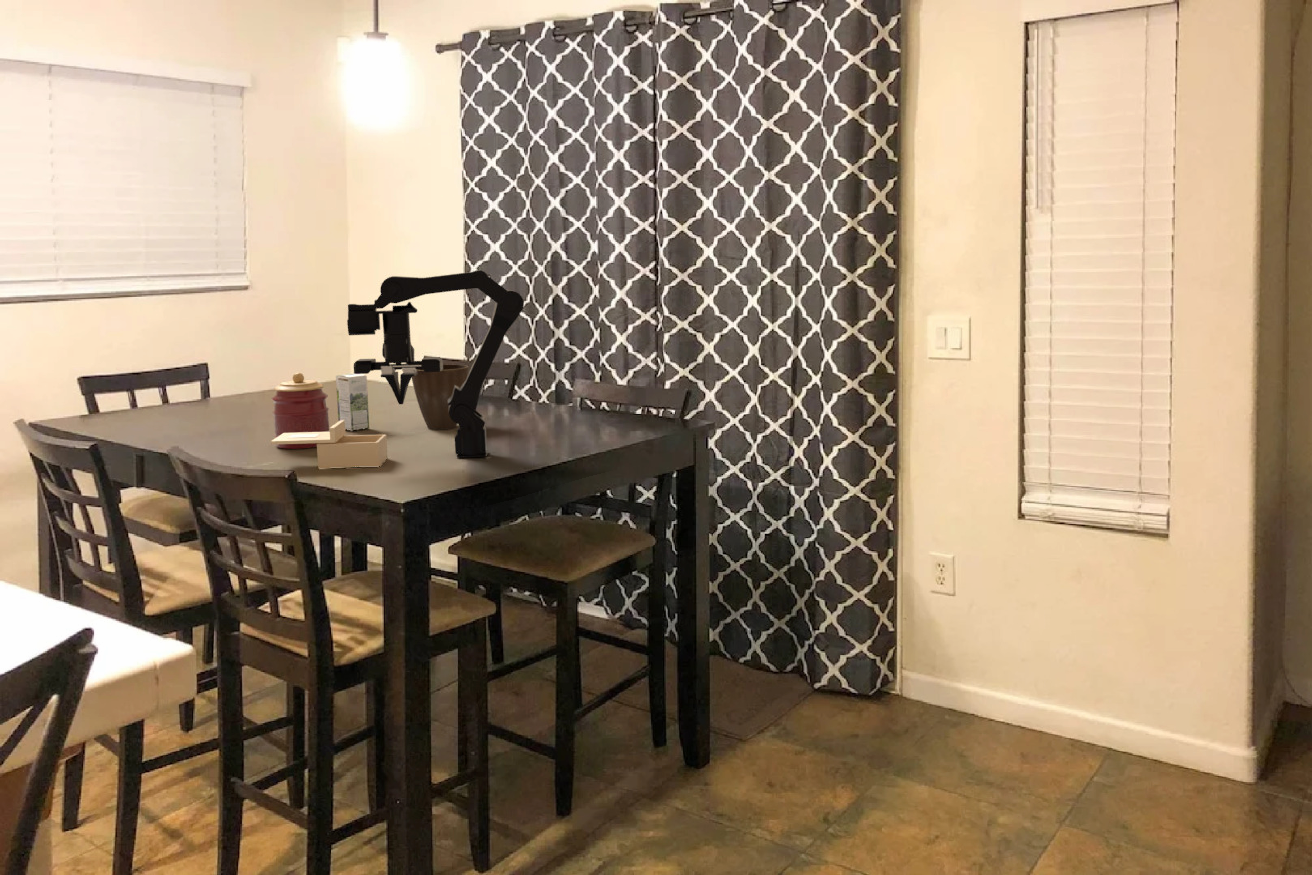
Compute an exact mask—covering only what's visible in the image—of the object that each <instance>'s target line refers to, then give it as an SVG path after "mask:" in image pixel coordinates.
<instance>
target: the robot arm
mask: <svg viewBox="0 0 1312 875" xmlns="http://www.w3.org/2000/svg"><path fill="white" fill-rule="evenodd" d="M379 289H380V290H379V292H380V295H379V296H378V297H377V299H375V300H374V303H372V304H370V303H369V304H366V303H365V304H357V303H349V304H347V321H346V322H347V324H346V325H347V333H348V336H367V335H369V336H370V335H373V336H375V335H376V331H380V330H381V317H380V315H382V327H383V330H382V331H383V343H382V347H381V348H382V355H381V356H382V357H383V358H384V361H376V358H360V359H357V360H355V361H354V362H353V374H364V375H367V374H369V373H370V372H371V371H372V372H373V371H380V372H381V374H380V377H381V378H385V380H386V381H387V383H388V384H389V386H390V387H391V390H392V392H393V394H394V397H395V398H396V401H397V403H398V405H403V404H404V403H405V399H406V395H407V391H408V388H409V385H410V382H411V381H412V376H415V375H416V374H417V371H416V370H417V369H423V370H424V371H425V372H440V371H441V370H443V364H444V362H443V358H441V357H440V356H428V357H427V356H426V357H423V358H422V359H421V360H415V348H414V346H413V345H412V342H411V327H410V326H411V325H410V324H411V323H410V314H416V313H418V308H416V307H415V306H414V305H413V304H412V302H411V301H409V300H412V299H415V298H417V297H421V296H425V295H430V294H438V293H445V292H446V293H447V292H454V291H455V292H456V291H463V290H472V289H478V290H479V291H481V292H482V293H483V294H484V295H485V296H486V297H489V299H491V300H492V301H493V302H495V304H494V308H493V312H492V317H491V322H490V326H489V327H488V330H487V332H486V334H485V337H484V338H483V340H482V344H481V345H480V347H479V350H478V353H477V354H476V356H475V358H474V360H473V361H474V362H472V365H471V368H470V369H469V371H468V374H467V378H466V380H465V382H464V383H463V384H462V386H461V387H460V388H459V387H458V386H456V385H454V389H453V393H452V395H451V397H450V398H449V399H448V400H447V401H448V405H449V415H450V418H451V419H452V421H453V422H455V423H457V426H458V428H457V429H456V434H455V436H454V448H455V450H454V452H455V453H454V454H455V455H456V458H457V459H460V458H463V459H464V458H485V457H486V458H487V455H488V453H489V450H488V444H487V443H488V441H487V427H486V426H485V424H486V422H485V418H484V416H483V414H481V413H480V412H479V411H478V410H477V406H478V403H479V398H480V393H481V388H482V386H483V384H484V383H485V379H486V378H487V375H488V373H489V371H490V369H491V367H492V364H493V362H494V360H495V358H496V356H497V353H498V351H499V348H500V347H501V345H502V342H503V340H504V337H505V336H506V333H507V332H508V331H509V329H510V328H511V327H512V325H513V324H514V323H515V321H516V320H517V319H518V317H519V316H520V315H521V313H522V311H523V309H524V305H525V302H524V298H523V296H522V295H521V293H519V292H517V291H516V290H513V289H506V288H505V287H503V286H502V285H501V284H499V283H498V282H496V281H495V280H494V279H492V278H491V277H490V276H489V275H488V273H486V272H485V271H484V270H479V269H476V270H474V271H470V272H469V271H468V272H459V273H451V274H444V275H435V276H428V277H427V276H426V277H417V276H416V277H414V276H401V275H400V276H397V275H396V276H395V275H392V276H389V277H387V278H385V279H384V280H383V282H382V283H381V284H380V288H379ZM405 301H408V302H407V304H406V305H405V304H404V305H392V309H389V310H379V309H384V308H386V307H387V306H388V305H389V304H399V303H402V302H405ZM377 309H378V310H377ZM398 370H402V373H401V374H400V378H399V371H398ZM399 379H400V381H399Z"/></svg>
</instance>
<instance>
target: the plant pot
mask: <svg viewBox="0 0 1312 875" xmlns="http://www.w3.org/2000/svg"><path fill="white" fill-rule="evenodd" d="M416 371H417V374H416V375H415V376H412V378H411V382H412V385H413V390H414V394H415V398H416V401H417V403H418V408H419V410H420V413H421V415H422V419H423V420H424V423H425V425H426V427H427V429H429V430H450V429H455V428H457V426H458V424H457V423H455V422H453V421H452V419H451V418H450V415H449V405H448V401H447V400H448V399H449V398H450V397H451V395H452V393H453V389H454V385H456V386H458V387H459V388H460V387H461V386H462V384H463V383H464V382H465V380H466V378H467V376H468V374H469V366H468V365H465V364H456V363H455V364H452V363H451V364H450V363H447V364H446V363H443V370H441V371H440V372H425V371H424V370H423V369H417V370H416Z"/></svg>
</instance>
